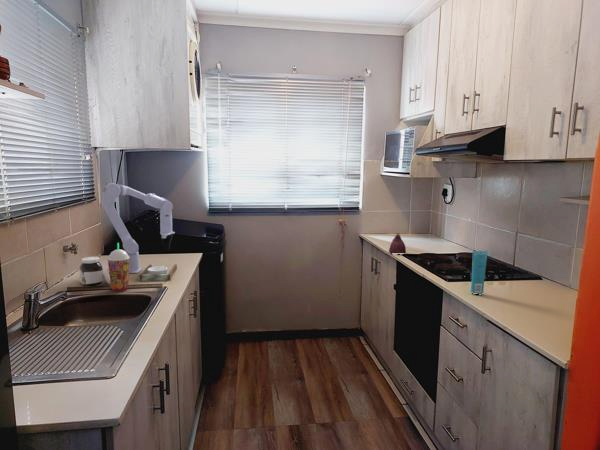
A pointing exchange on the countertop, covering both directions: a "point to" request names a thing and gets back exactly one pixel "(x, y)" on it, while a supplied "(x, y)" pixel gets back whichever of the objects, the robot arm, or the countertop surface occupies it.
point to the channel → (157, 275)
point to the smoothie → (119, 269)
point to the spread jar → (92, 272)
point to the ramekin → (157, 270)
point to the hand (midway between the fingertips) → (166, 249)
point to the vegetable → (397, 245)
